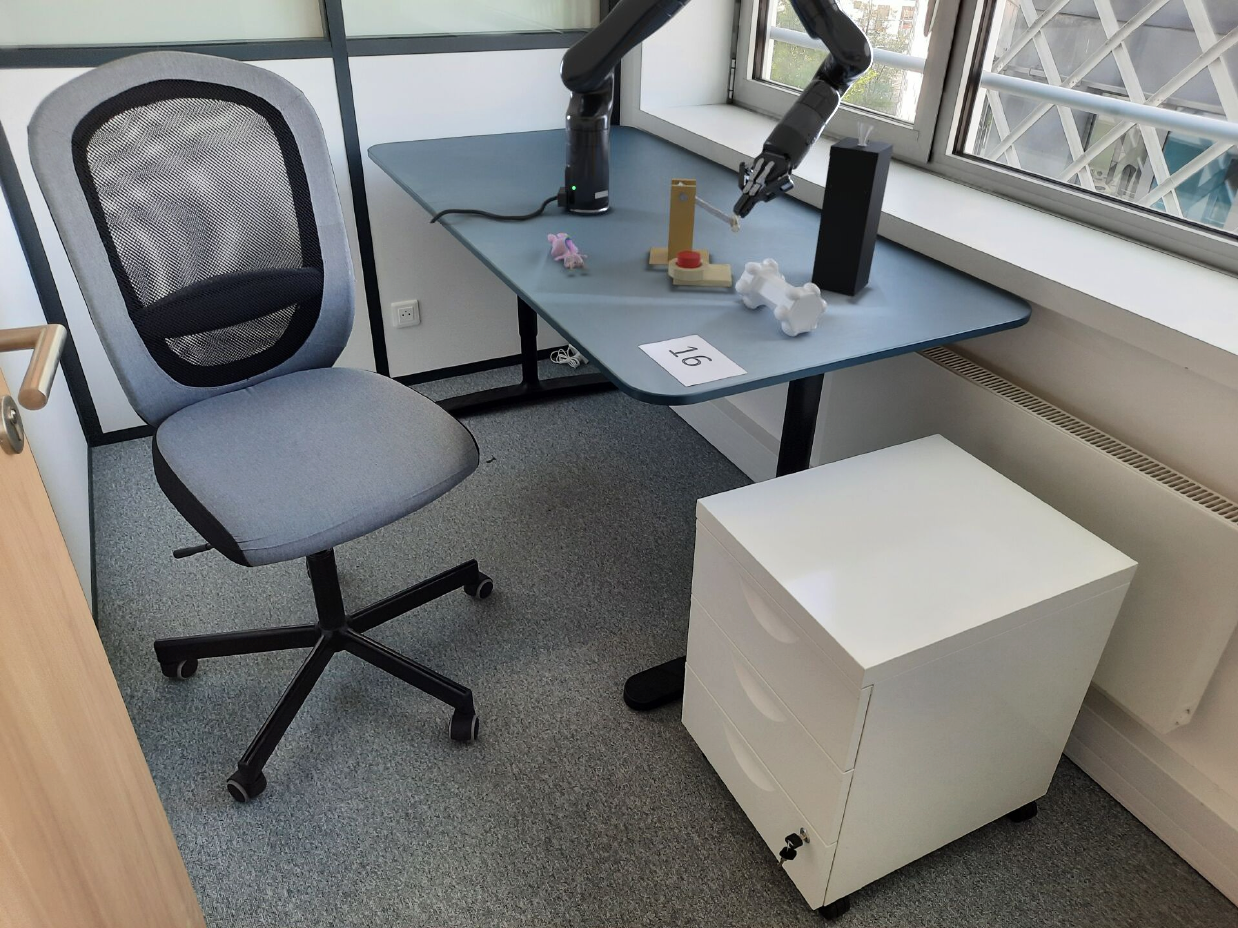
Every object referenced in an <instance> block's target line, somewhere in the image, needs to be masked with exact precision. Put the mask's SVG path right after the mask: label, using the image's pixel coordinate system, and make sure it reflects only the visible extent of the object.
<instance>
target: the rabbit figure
mask: <svg viewBox="0 0 1238 928" xmlns="http://www.w3.org/2000/svg"><path fill="white" fill-rule="evenodd" d="M547 240H548V243H549V244H550V245H551V246H552V249H551V253H550V254H551V255H552V256H553V257H554V259H553V261H554V262H557V261H560V260H563V266H564V267H565V268H566V269H570V271H571V272H572V271H573V268H575V267H577V268H583V270H586V264H585V262H584V260H583V259H587V258H588V256H587V255H586V254H580V253H578V252H579V249H578V247H577V246H576V245H575V244H574V243H573V240H572V237H571V235H570V234H569V235H568V233H566V232H560V233H557V235H555V234H552V233H549V234H547ZM582 258H583V259H582Z"/></svg>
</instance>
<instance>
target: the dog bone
mask: <svg viewBox="0 0 1238 928" xmlns="http://www.w3.org/2000/svg"><path fill="white" fill-rule="evenodd" d="M735 290H736V292H737V293H738V294H739V295H742V302H743V304H744V305H745V306H746V308H748V309H751V310H755V309H757V308H758V307H759V306H766V307H767V308H769V309H771V310H772V311H773V315H774V317H775V319H777V320H778V321H779V322H781V329H782V331H783V332H784V334H786V335H787V336H789V337H796V336H797V335H798V334H801V333H811V332H814V331H815V330H816V329H817V324H818V323H819V321H820V320H821V318H822V316H823V315H824V314H825V313H826V312H827V310H828V303H827V302H826V300H824V299H823V298H822V297H821V289H819V288H818V287H817V286H816V285H815V284H813V283H811V282H806V283H804V284H803V285H802V286H797V287H796V286H793V285H792V284H790V283H789V282H787V281H786V278H785V276H784V275H783V274H782V273H780V271H779V264H778V263H777V261H776V260H774V259H773V258H770V257H767V258H765V259H764V260H762V261H759V262H755V261H749V262H747V263H746V264H745V265H744V271H743V273H742V274H741V277H740V278H739V279H738V280H737V281H736V282H735Z"/></svg>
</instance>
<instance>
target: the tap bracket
mask: <svg viewBox="0 0 1238 928" xmlns="http://www.w3.org/2000/svg"><path fill="white" fill-rule="evenodd" d="M679 182H682V183H684V184H685V185H678V184H679ZM670 183H671V184H670V198H669V199H670V201H669V202H670V203H669V204H670V205H669V220H668V240H667V247H652V246H651V247H650V251H649V259H648V260H649V261H648V264H649V265H655V266H656V265H657V266H669V261H671V260H672V259H674V258H678V253H679V252H682V251H695V252H698V253H700V254H701V259H703V260H705V261H706V262H708V263H709V264H710V255H709V254H710V253H709V249H703V248H702V249H701V248H700V249H699V248H698V249H697V248H693V245H694V242H693V241H694V227H695V214H696V204H695V199H696V197H697V196H696V195H697V179H695V178H671V182H670Z"/></svg>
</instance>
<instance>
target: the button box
mask: <svg viewBox="0 0 1238 928" xmlns="http://www.w3.org/2000/svg"><path fill="white" fill-rule="evenodd" d="M677 259H678V258H674V259H672V260H671V261H669V265H668V272H667V273H668V276H669V277H671V278H672V279H673V281H672V282H673V283H672V284H673V286H674V285H675V286H678V285H679V286H700V287H723V288H724V287H725V288H731V287H732V282H733V279H732V272H731V264H725V263H722V264H721V263H710V262H709V263H708V262H706V261H705V260H703V259H701V262H700V267H699V268H693V269H690V268H682V267H679V266H677Z"/></svg>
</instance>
